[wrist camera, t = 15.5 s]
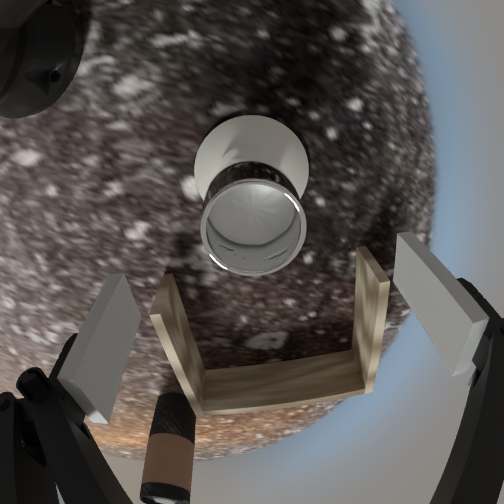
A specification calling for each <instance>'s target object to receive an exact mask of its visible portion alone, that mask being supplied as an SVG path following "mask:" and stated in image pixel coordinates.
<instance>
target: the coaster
mask: <svg viewBox="0 0 504 504" xmlns="http://www.w3.org/2000/svg"><path fill="white" fill-rule="evenodd" d="M248 143H250V144H256V145H259V146H261V147H263V148H265V149H266V150H267V151H269V152H270V153H271V155H272V156H273V158H274V159H275V162H276V165H277V166H279V167H280V168H281V169H282V170H283V171H284V172H285V173H286V174H287V175H288V177H289V178H290V180H291V181H292V182H293V184H294V186H295V188H296V190H297V193H298V195H299V198H301V196H302V194H303V193H304V190H305V188H306V185H307V181H308V174H309V164H308V158H307V155H306V152H305V149H304V147H303V145H302V143H301V142H300V140H299V139H298V137H297V136H296V135H295V134H294V133H293V132H292V131H291V130H290V129H289V128H288V127H287V126H285V125H284V124H282V123H280V122H278V121H276V120H274V119H272V118H269V117H265V116H260V115H244V116H239V117H235V118H232V119H229V120H227V121H225V122H223V123H221V124H220V125H218V126H217V127H216V128H214V129H213V130H212V131H211V132H210V133H209V134H208V136H207V137H206V138H205V139H204V141H203V143H202V144H201V146H200V148H199V150H198V153H197V156H196V160H195V167H194V175H195V182H196V185H197V188H198V191H199V193H200V195H201V197H202V199H203V200H204V197H205V193H206V190H207V188H208V186H209V183H210V181H211V180H212V178H213V177H214V175H215V174H216V173H217V172H218V169H219V164H220V161H221V159H222V157H223V156H224V155H225V153H226V152H227V151H228V150H230V149H231V148H233V147H235V146H237V145H240V144H248Z"/></svg>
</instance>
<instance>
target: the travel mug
mask: <svg viewBox="0 0 504 504" xmlns="http://www.w3.org/2000/svg"><path fill="white" fill-rule="evenodd" d="M195 424H196V415H195V413H194V411H193V409H192V407H191V405H190V403H189V401H188V399H187V397H186V396H185V395H182V394H178V393H166V394H163V395H161V396H160V397H159V398H158V400H157V404H156V408H155V412H154V417H153V421H152V425H151V430H150V434H149V439H148V445H147V451H146V457H145V463H144V470H143V477H142V483H141V491H140V500H141V501H142V502H144V503H146V504H190V492H191V479H192V467H193V457H194V445H195Z"/></svg>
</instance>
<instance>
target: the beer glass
mask: <svg viewBox="0 0 504 504" xmlns="http://www.w3.org/2000/svg"><path fill="white" fill-rule="evenodd" d="M306 227H307V225H306V217H305V213H304V211H303V208H302V205H301V201H300V198H299V195H298V193H297V190H296V188H295V186H294V184H293V182H292V181H291V180H290V178H289V177H288V175H287V174H286V173H285V172H284V171H283V170H282V169H281V168H280V167H279V166H277V165H276V162H275V159H274V158H273V156H272V155H271V153H270V152H269V151H267V150H266V149H265V148H263V147H261V146H259V145H256V144H250V143H248V144H240V145H237V146H235V147H233V148H231V149H230V150H228V151H227V152H226V153H225V155H224V156H223V157H222V159H221V161H220V164H219V169H218V172H217V173H216V174H215V175H214V177H213V178H212V180H211V181H210V183H209V186H208V188H207V190H206V193H205V197H204V201H203V207H202V218H201V224H200V232H201V238H202V242H203V245H204V247H205V249H206V251H207V253H208V254H209V256H210V257H211V258H212V259H213V260H214V261H215V262H216V263H217V264H218V265H220V266H221V267H222V268H224V269H226V270H228V271H230V272H232V273H235V274H239V275H244V276H261V275H266V274H270V273H273V272H275V271H277V270H279V269H281V268H283V267H284V266H286V265H287V264H288V263H290V262H291V261H292V260H293V259H294V258H295V257H296V255H297V254H298V253H299V251H300V249H301V247H302V245H303V243H304V240H305V236H306Z"/></svg>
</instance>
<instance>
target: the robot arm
mask: <svg viewBox="0 0 504 504" xmlns="http://www.w3.org/2000/svg"><path fill="white" fill-rule="evenodd" d="M82 48H83V29H82V24H81V21H80V18H79V16H78V14H77V12H76V11H75V9H74V8H73V7H72V6H71V5H70V4H68V3H67V2H65V1H63V0H0V116H2V117H5V118H22V117H26V116H30V115H34V114H37V113H39V112H41V111H43V110H45V109H47V108H48V107H49V106H51V105H52V104H53V103H54V102H55V101H56V100H57V99H58V98H59V97H60V96H61V95H62V94H63V93H64V91H65V90H66V88H67V87H68V85H69V84H70V82H71V80H72V79H73V77H74V75H75V72H76V70H77V68H78V65H79V62H80V58H81V54H82ZM393 282H394V284H395V285H396V287H397V288H398V290H399V291H400V293H401V294H402V296H403V297H404V299H405V300H406V302H407V303H408V305H409V306H410V308H411V309H412V311H413V312H414V314H415V315H416V317H417V319H418V320H419V321H420V324H421V325H422V327H423V328H424V330H425V332H426V333H427V335H428V336H429V338H430V340H431V341H432V343H433V345H434V346H435V348H436V350H437V351H438V353H439V355H440V357H441V358H442V360H443V362H444V363H445V365H446V367H447V369H448V371H449V372H450V374H451V376H452V377H453V376H455V375H458V374H461V373H464V372H466V371H467V370H468V369H469V366H470V364H471V362H472V361H473V363H474V364H475V366H476V369H475V371H474V373H473V375H472V377H471V379H470V381H469V383H468V385H469V386H470V384H471V387H470V391H469V395H468V399H467V403H466V407H465V410H464V414H463V417H462V420H461V424H460V427H459V430H458V433H457V436H456V439H455V442H454V445H453V448H452V451H451V454H450V457H449V459H448V462H447V464H446V467H445V470H444V472H443V475H442V477H441V480H440V482H439V484H438V486H437V489H436V491H435V493H434V495H433V498H432V500H431V502H430V504H496V503H497V500H498V497H499V494H500V491H501V488H502V484H503V481H504V318H501V317H500V316H499V314H498V313H497V312H496V311H495V310H494V308H493V307H492V306H491V305H490V304H489V303H488V301H487V300H486V299H485V298H483V296H482V295H481V293H479V292H478V290H477V289H476V288H475V287H474V286H473V285H472V283H470V282H468V281H467V280H465V279H463V278H459V279H456V278H455V277H454V276H453V275H452V274H451V273H450V271H449V270H448V269H447V268H446V267H445V266H444V265H443V264H442V263H441V262H440V261H439V260H438V259H437V257H436V256H435V255H434V254H433V253H432V252H431V251H430V250H429V249H428V248H427V247H426V246H425V245H424V244H423V243H422V242H421V241H420V240H419V239H418V238H417V237H416V236H415V235H414V234H413V233H412V232H411V231H410V232H403V233H397V245H396V257H395V267H394V276H393ZM141 318H142V316H141V314H140V312H139V309H138V307H137V305H136V302H135V300H134V297H133V295H132V292H131V290H130V287H129V285H128V282H127V280H126V277H125V275H124V273H119V274H112V275H110V276H109V278H108V280H107V281H106V283H105V285H104V287H103V288H102V290H101V292H100V294H99V296H98V297H97V299H96V301H95V303H94V305H93V307H92V308H91V310H90V312H89V314H88V316H87V318H86V320H85V322H84V324H83V326H82V327H81V329H80V331H79V333H74V334H73V335H72V336H71V337H70V338H69V339H68V340H67V341H66V343H65V345H64V347H63V349H62V352H61V353H60V355H59V359H57V361H56V363H55V365H54V367H53V369H52V371H51V374H50V376H49V378H47V376H46V375H45V374H44V372H43V371H42V370H41V369H40V368H38V367H32V368H30V369H27V370H26V371H24V372H23V373H22V374H21V375H20V377H19V378H18V380H17V383H16V388H17V389H18V390H19V391H20V393H21V394H22V395H23V396H24V397H25V398H21V399H16V397H15V396H14V395H13V394H12V393H11V392H3V393H1V394H0V504H59V500H58V494H57V489H56V485H57V487H58V489H59V492H60V494H61V496H62V498H63V500H64V502H65V504H133V503H132V501H131V500H130V498H129V497H128V496H127V494H126V492H125V491H124V490H123V488H122V486H121V485H120V483H119V482H118V480H117V478H116V477H115V475H114V474H113V472H112V470H111V469H110V467H109V465H108V464H107V462H106V460H105V458H104V457H103V455H102V453H101V451H100V449H99V448H98V446H97V444H96V442H95V440H94V438H93V437H92V435H91V433H90V431H89V429H88V427H87V425H86V424H85V423H84V422H83V421H84V418H85V415H87V416H88V418H89V419H90V420H91V421H92V422H93V423H105V424H109V421H110V417H111V413H112V410H113V406H114V403H115V399H116V396H117V392H118V389H119V386H120V382H121V379H122V376H123V373H124V369H125V366H126V363H127V360H128V357H129V354H130V350H131V347H132V344H133V341H134V338H135V335H136V332H137V329H138V326H139V324H140V321H141ZM55 482H56V483H55Z"/></svg>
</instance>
